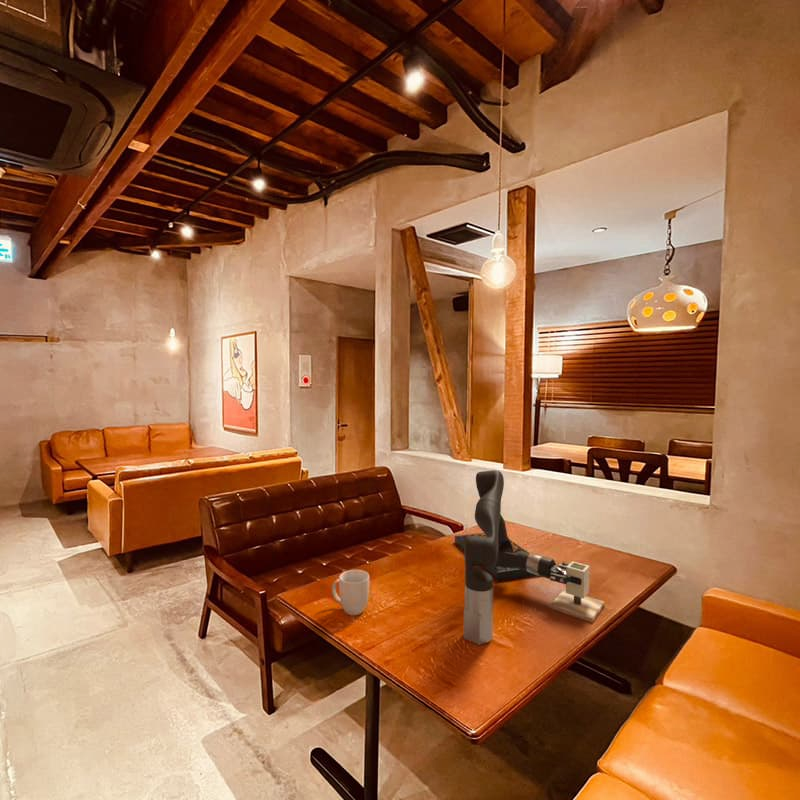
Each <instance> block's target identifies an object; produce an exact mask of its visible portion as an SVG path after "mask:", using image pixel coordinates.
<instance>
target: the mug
mask: <svg viewBox="0 0 800 800" xmlns="http://www.w3.org/2000/svg"><path fill="white" fill-rule="evenodd" d="M338 577H339V578H337V579H336V580H335V581H334V582H333V584H332V588H331V589H332V590H331V591H332V596H333V598H334V599H335V600H336V601H337V602H338V603H341V607H342V608H343V609H342V610H344V612H345V613H346V614H347V615H349V616H358V615H360V614H361V615H362V613H363V612H364V611H365V609H366V608H367V604H368V603H369V602H368V601H369V597H370V575H369V573H368V572H367V571H365V570H363V569H349V570H346V571H343V572H342V573H340V575H339V576H338ZM337 584H338V585H339V589H338V591H339V595H338V594H337V591H336V590H337V588H336V587H337Z"/></svg>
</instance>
